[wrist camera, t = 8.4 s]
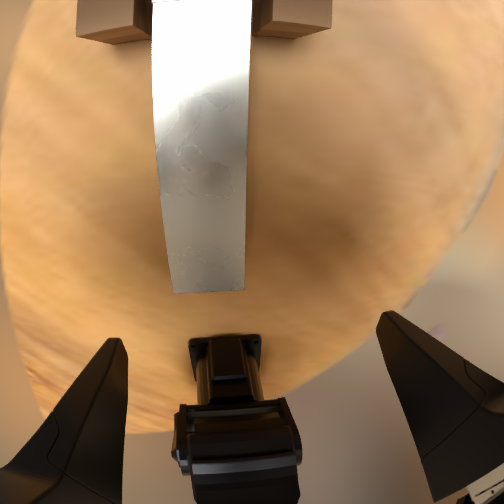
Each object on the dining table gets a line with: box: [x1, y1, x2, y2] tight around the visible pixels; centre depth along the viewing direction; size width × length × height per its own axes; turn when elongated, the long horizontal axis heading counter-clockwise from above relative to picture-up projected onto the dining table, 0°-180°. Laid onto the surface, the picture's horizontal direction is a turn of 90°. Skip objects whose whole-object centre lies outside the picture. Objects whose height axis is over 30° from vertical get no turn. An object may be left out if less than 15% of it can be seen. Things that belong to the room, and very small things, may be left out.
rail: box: [152, 0, 252, 294], centre depth 15 cm, size 16×4×5 cm, turn 178°
